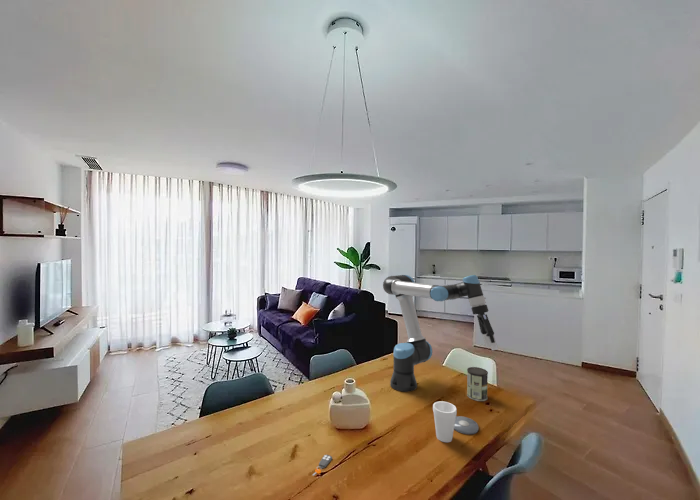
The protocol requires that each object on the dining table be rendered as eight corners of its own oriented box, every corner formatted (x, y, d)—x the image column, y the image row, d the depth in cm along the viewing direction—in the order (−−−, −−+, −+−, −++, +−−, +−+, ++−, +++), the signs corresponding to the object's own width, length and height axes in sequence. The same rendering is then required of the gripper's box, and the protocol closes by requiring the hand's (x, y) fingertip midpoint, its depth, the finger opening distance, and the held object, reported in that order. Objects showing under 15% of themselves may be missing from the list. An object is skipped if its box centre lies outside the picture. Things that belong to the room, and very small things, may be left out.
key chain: (324, 456, 117) (324, 452, 117) (332, 459, 115) (332, 455, 115) (306, 480, 105) (306, 476, 105) (316, 483, 103) (316, 479, 103)
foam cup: (456, 433, 131) (456, 403, 131) (456, 446, 123) (456, 414, 123) (433, 429, 135) (433, 399, 134) (431, 441, 126) (432, 410, 126)
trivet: (452, 432, 132) (452, 429, 132) (447, 417, 144) (447, 414, 144) (481, 435, 130) (481, 432, 130) (474, 420, 142) (474, 417, 142)
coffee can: (482, 392, 170) (483, 366, 170) (490, 401, 159) (491, 374, 159) (464, 391, 170) (464, 366, 170) (471, 401, 160) (471, 374, 159)
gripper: (491, 302, 142) (506, 349, 137) (481, 304, 166) (494, 344, 161) (474, 306, 144) (489, 352, 138) (467, 307, 168) (479, 347, 162)
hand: (492, 348), depth 150 cm, fingers open, 13 cm apart
